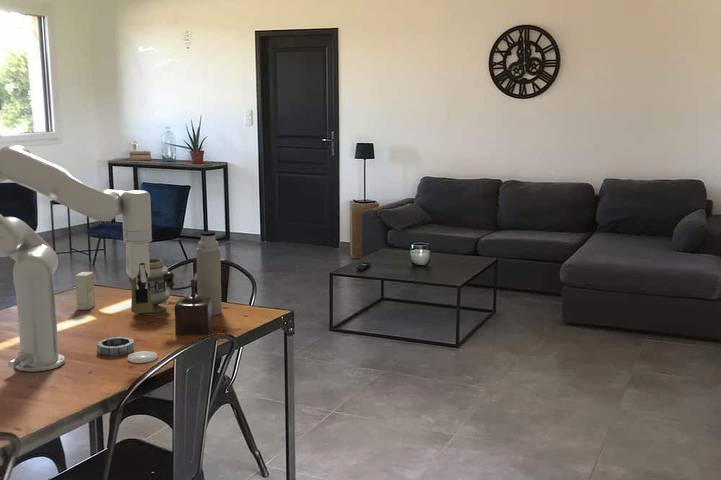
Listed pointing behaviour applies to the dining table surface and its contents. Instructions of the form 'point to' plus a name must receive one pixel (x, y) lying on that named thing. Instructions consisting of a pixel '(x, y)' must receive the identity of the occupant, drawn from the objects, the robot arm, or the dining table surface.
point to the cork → (141, 306)
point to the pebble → (142, 357)
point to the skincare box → (85, 290)
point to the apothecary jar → (157, 286)
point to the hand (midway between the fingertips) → (140, 300)
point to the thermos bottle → (209, 270)
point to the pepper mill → (190, 310)
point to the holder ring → (115, 346)
